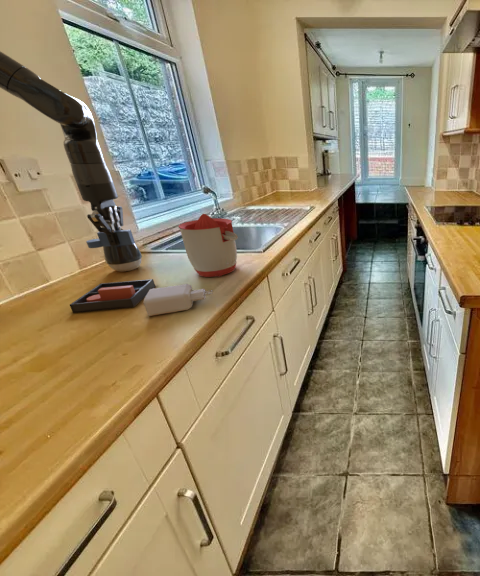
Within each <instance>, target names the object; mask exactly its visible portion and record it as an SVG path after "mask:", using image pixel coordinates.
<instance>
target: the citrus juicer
mask: <svg viewBox="0 0 480 576" xmlns="http://www.w3.org/2000/svg"><path fill="white" fill-rule="evenodd" d="M177 227H178V229H179V230H180V234H181V239H182V242H183V246H184V250H185V254H186V256H187V258H188V260H189V262H190V264H191V266H192V267H193V270H194V271H195V272H196V274H198V276H200V277H205V278H211V277H222V276H224V275H228V274H230V273H232V272H234V271H235V270H236V268H237V267H236V266H237V258H238V250H237V249H238V248H237V243H236V240H238V239H239V237H238V235H237V233H235V232H234V228H233V220H232V219H229V218H220V217H219V218H217V217H216V218H215V217H214V218H212V217H211V216H209V215H208V214H206V213H202V214H201V215H199V217H198V219H195V220H190V221H185V222H183V223H180V224H179V225H178V226H177Z"/></svg>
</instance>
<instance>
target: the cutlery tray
mask: <svg viewBox="0 0 480 576" xmlns="http://www.w3.org/2000/svg"><path fill="white" fill-rule="evenodd" d="M129 285H133V287H134V290H135V294H134V295H133V296H132V297H130V298H129V299H118V300H107V301H96V302H87V298H88V297H90V296H93V295H97V294H99V292H98V290H99V289H100V288H106V287H117V286H129ZM154 288H156V283H155V281H154V279H153V278H151V279H150V278H149V279H139V280H138V279H137V280H127V281H117V282H116V281H114V282H101V283H99V284H97V285H96V286H95V287H93V288H92V289H90V290H88V291H87V292H86V293H84V294H83V295H82V296H80V297H79V298H77V299H75V300H74V301H73V302H71V303H70V304H69V307H70V309H71V312H72V313H73V314H80V313H88V312H89V313H91V312H99V311H109V310H111V311H112V310H119V309H120V310H121V309H129V308H131V309H132V308H135V307H136V306H137V305H138V304H139V303H140V302H141V301H142V300H144V298H145V297H146V295H147V293H148V292H149V290H150V289H154Z"/></svg>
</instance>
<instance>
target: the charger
mask: <svg viewBox="0 0 480 576" xmlns="http://www.w3.org/2000/svg"><path fill="white" fill-rule="evenodd" d="M213 292H214V290H206V289H205V288H200V289H193V286H192V285H191V284H189V283H184V284H176V285H168V286H162V287H154V288H153V289H150V290H149V292H148V293H147V295H146V296H145V297H144V298H143V307H144V309H145V311H146V315H147V316H148V317H152V316H158V315H164V314H165V315H166V314H170V313H171V314H172V313H176V312H181V311H182V312H183V311H188V310H189V309H191V308H192V307H193V304H194V302H196V301H197V302H198V301H202V300H206V296H209V295H214V293H213Z"/></svg>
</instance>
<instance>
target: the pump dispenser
mask: <svg viewBox="0 0 480 576" xmlns="http://www.w3.org/2000/svg"><path fill="white" fill-rule="evenodd" d="M121 230H124V229H123V228H121ZM102 252H103V257H104V258H103V259H104V261H105V264H107V265H108V267H110V269H112V270H114V271H116V272H121V273H123V272H131V271H134V270H136V269H138V268H139V267H140V266H141V265H142V258H143V255H142V253H141V250H140V249H139V247H138V245H137V244H136V242H135V243H134V244H133V245H119V246H105V247H102Z"/></svg>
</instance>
